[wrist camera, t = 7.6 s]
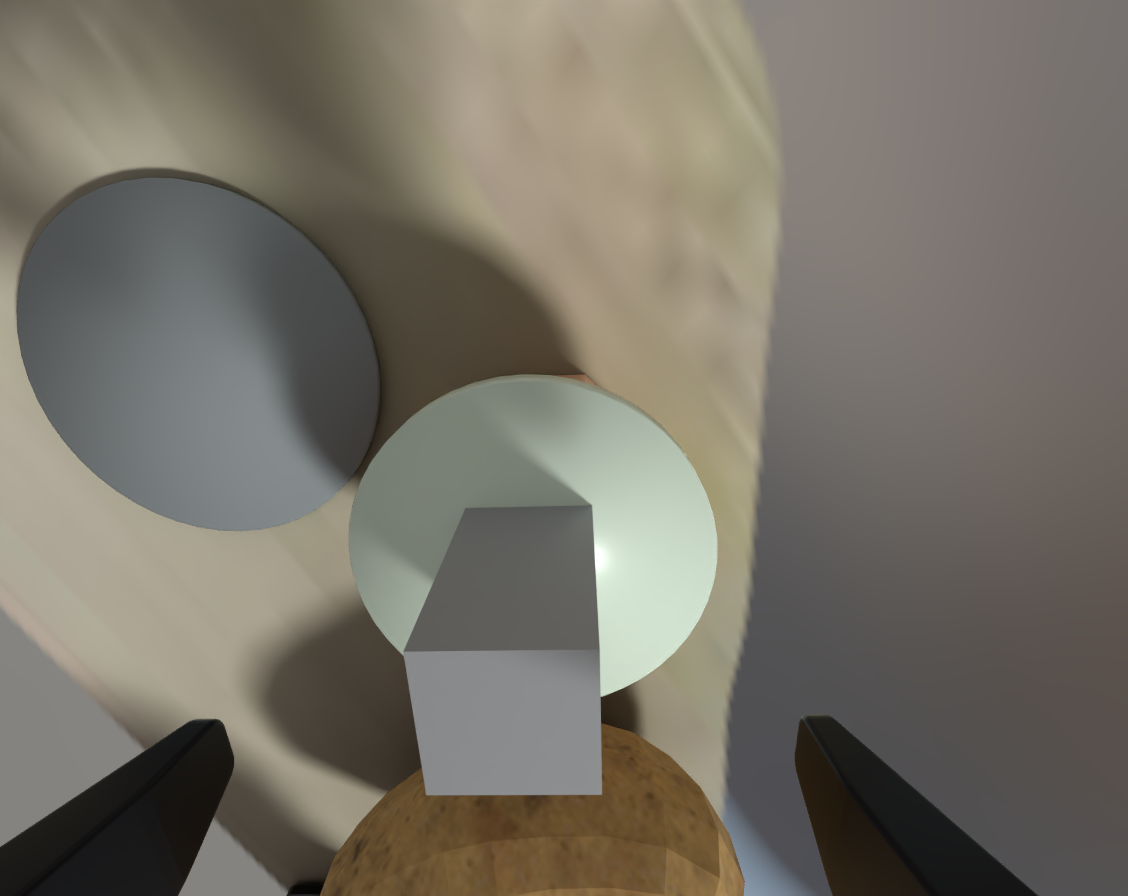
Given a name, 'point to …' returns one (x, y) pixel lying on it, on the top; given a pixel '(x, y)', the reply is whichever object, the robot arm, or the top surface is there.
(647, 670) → the lid
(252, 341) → the mat
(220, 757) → the robot arm
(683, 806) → the potato
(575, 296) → the top surface
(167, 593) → the top surface
